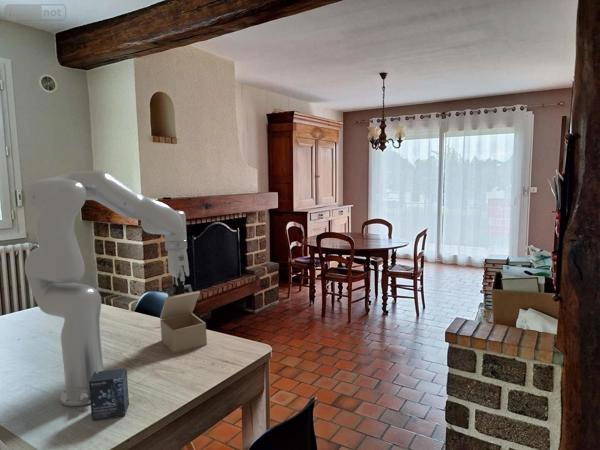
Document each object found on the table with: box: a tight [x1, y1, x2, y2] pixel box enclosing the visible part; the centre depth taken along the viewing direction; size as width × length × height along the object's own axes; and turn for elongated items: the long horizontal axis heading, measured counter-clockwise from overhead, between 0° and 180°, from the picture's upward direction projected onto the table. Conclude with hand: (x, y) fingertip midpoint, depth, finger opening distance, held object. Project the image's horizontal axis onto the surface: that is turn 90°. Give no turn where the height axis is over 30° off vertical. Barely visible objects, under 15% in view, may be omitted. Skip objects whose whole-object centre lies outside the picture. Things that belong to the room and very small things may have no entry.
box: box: [89, 367, 130, 421], centre depth 103 cm, size 8×6×11 cm
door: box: [159, 284, 201, 320], centre depth 148 cm, size 14×12×6 cm
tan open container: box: [159, 312, 208, 355], centre depth 146 cm, size 14×12×8 cm
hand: (179, 294), depth 146 cm, fingers closed
